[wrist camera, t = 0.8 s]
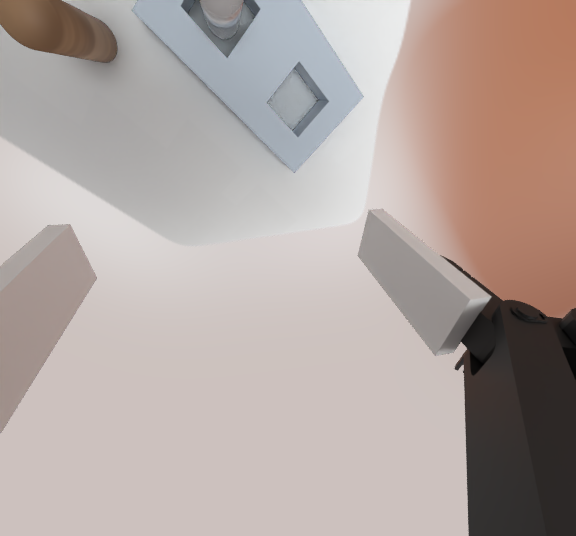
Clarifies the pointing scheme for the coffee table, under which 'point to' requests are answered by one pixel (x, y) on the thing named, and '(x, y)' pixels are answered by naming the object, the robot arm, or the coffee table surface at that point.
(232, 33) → the grey steel peg
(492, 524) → the robot arm
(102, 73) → the coffee table surface
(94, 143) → the coffee table surface
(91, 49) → the walnut peg
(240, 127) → the coffee table surface
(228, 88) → the socket block
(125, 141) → the coffee table surface
